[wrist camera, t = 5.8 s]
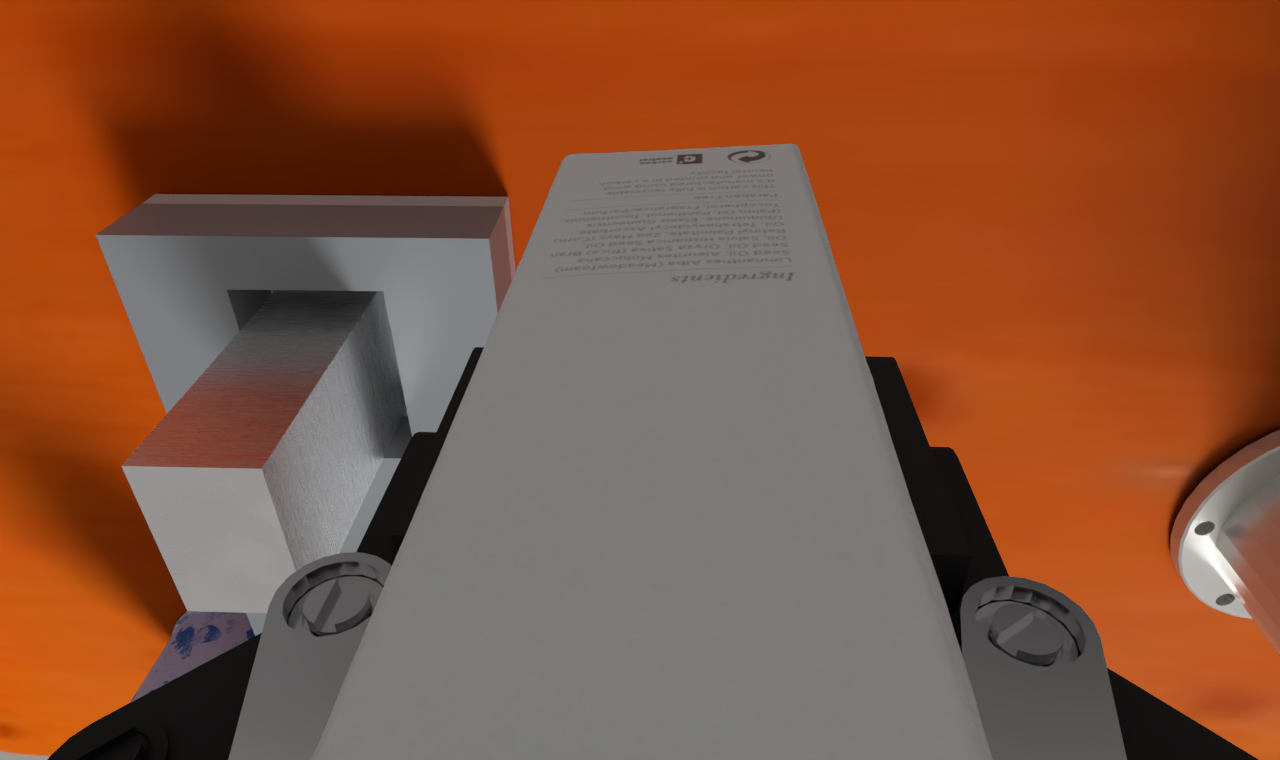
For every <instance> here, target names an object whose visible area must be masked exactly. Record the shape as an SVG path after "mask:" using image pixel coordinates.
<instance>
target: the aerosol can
mask: <svg viewBox="0 0 1280 760" xmlns="http://www.w3.org/2000/svg"><path fill="white" fill-rule="evenodd" d="M254 636H255V634H254V632H253V629H252V627H251V624H250V622H249V619H248V617H247V614H246V613H237V612H197V611H187V612H186V613H185V614H183V615H182V616H181V617H180V618H179V619H178V621H177V622H176V624H175V626H174V629H173V632H172V635H171V638H170V640H169V642H168V643H167V645H166V646H165V648H164V650H163V651H162V653H161V654H160V656H159V658H158V659H157V661H156V662H155V664H154V666H153V667H152V669H151V670H150V672H149V673H148V675H147V677H146V678H145V680H144V681H143V683H142V685H141V686H140V688H139V689H138V691H137V693H136V694H135V696H134V697H133V699H132V700H131V702H133V701H135V700H137V699H138V698H140V697H142V696H144V695H146V694H148V693H150V692H152V691H153V690H155V689H157V688H159V687H161V686H163V685H165V684H167V683H168V682H170V681H172V680H174V679H176V678H178V677H180V676H182V675H183V674H185V673H187V672H189V671H191V670H193V669H195V668H196V667H198V666H200V665H202V664H204V663H206V662H208V661H210V660H211V659H213V658H215V657H217V656H219V655H221V654H223V653H225V652H226V651H228V650H230V649H232V648H234V647H236V646H238V645H239V644H241V643H243V642H245V641H247V640H249V639H251V638H253V637H254ZM131 702H130V703H131Z"/></svg>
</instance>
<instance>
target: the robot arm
mask: <svg viewBox="0 0 1280 760" xmlns="http://www.w3.org/2000/svg"><path fill="white" fill-rule="evenodd" d="M483 349H484V347H475V348H474V349H473V351H472V353H471V355H470V358H469V360H468V362H467V364H466V367H465V369H464V371H463V373H462V376H461V378H460V380H459V382H458V385H457V387H456V389H455V391H454V394H453V396H452V398H451V400H450V403H449V405H448V407H447V409H446V412H445V414H444V416H443V419H442V421H441V423H440V425H439V428H438V430H437V432H417V433H415V434H414V435H413V437H412V438H411V440H410V441H409V443H408V445H407V447H406V450H405V452H404V454H403V456H402V458H401V460H400V462H399V464H398V466H397V468H396V470H395V472H394V475H393V477H392V479H391V481H390V483H389V485H388V487H387V489H386V491H385V493H384V495H383V497H382V499H381V502H380V504H379V506H378V508H377V510H376V512H375V514H374V516H373V518H372V520H371V522H370V524H369V526H368V529H367V531H366V533H365V535H364V537H363V539H362V541H361V543H360V545H359V547H358V549H357V551H356V552H352V553H339V554H335V555H330V556H326V557H322V558H320V559H318V560H315V561H313V562H311V563H309V564H306V565H304V566H303V567H301V568H300V569H299V570H297V571H296V572H294V573H293V574H292V575H290V576H289V577H288V578H287V579H286V580H285V581H284V582H283V583H282V584H281V586H280V587H279V588H278V589H277V590H276V592H275V594H274V596H273V598H272V600H271V602H270V604H269V607H268V611H267V615H266V619H265V622H264V626H263V630H262V633H260V634H258V635H256V636H254V637H253V638H251V639H249V640H247V641H245V642H243V643H241V644H239V645H238V646H236V647H234V648H232V649H230V650H228V651H226V652H225V653H223V654H221V655H219V656H217V657H215V658H213V659H211V660H210V661H208V662H206V663H204V664H202V665H200V666H198V667H196V668H195V669H193V670H191V671H189V672H187V673H185V674H183V675H182V676H180V677H178V678H176V679H174V680H172V681H170V682H168V683H167V684H165V685H163V686H161V687H159V688H157V689H155V690H153V691H152V692H150V693H148V694H146V695H144V696H142V697H140V698H138V699H137V700H135V701H133V702H131V703H129V704H127V705H125V706H124V707H122V708H120V709H118V710H116V711H114V712H112V713H110V714H109V715H107V716H105V717H103V718H101V719H99V720H97V721H95V722H94V723H92V724H90V725H89V726H87V727H86V728H84V729H83V730H81V731H80V732H78V733H77V734H75V735H73V736H72V737H70V738H69V739H68V740H67V741H66V742H65V743H64V744H63V745H62V746H61V747H60V748H58V749H57V750H56V751H55V752H54V753H53V754H52V755H51V756H50V757H49V759H48V760H311V758H312V756H313V754H314V752H315V750H316V747H317V745H318V743H319V741H320V739H321V737H322V734H323V732H324V730H325V727H326V724H327V722H328V719H329V717H330V714H331V712H332V709H333V707H334V704H335V701H336V699H337V696H338V694H339V691H340V689H341V686H342V684H343V682H344V679H345V677H346V675H347V672H348V670H349V668H350V665H351V663H352V661H353V658H354V656H355V654H356V651H357V649H358V647H359V644H360V642H361V640H362V637H363V635H364V633H365V630H366V628H367V626H368V623H369V621H370V619H371V616H372V614H373V611H374V609H375V606H376V604H377V602H378V599H379V597H380V594H381V592H382V589H383V587H384V584H385V582H386V580H387V577H388V575H389V572H390V570H391V567H392V565H393V562H394V560H395V558H396V555H397V553H398V551H399V548H400V546H401V544H402V542H403V539H404V537H405V535H406V532H407V530H408V528H409V525H410V523H411V521H412V518H413V516H414V514H415V511H416V509H417V506H418V504H419V501H420V499H421V496H422V494H423V491H424V489H425V487H426V485H427V482H428V480H429V478H430V475H431V473H432V471H433V468H434V466H435V464H436V461H437V459H438V457H439V454H440V452H441V449H442V447H443V444H444V442H445V440H446V437H447V435H448V432H449V430H450V427H451V425H452V422H453V420H454V418H455V415H456V413H457V410H458V408H459V406H460V403H461V401H462V399H463V396H464V394H465V392H466V389H467V387H468V385H469V382H470V380H471V378H472V375H473V373H474V370H475V368H476V365H477V363H478V360H479V358H480V356H481V353H482V351H483ZM865 359H866V361H867V364H868V367H869V369H870V372H871V374H872V377H873V380H874V384H875V388H876V391H877V394H878V397H879V401H880V404H881V407H882V410H883V413H884V416H885V419H886V423H887V426H888V429H889V432H890V436H891V439H892V442H893V445H894V448H895V451H896V455H897V458H898V461H899V464H900V467H901V470H902V473H903V476H904V479H905V483H906V486H907V489H908V492H909V495H910V499H911V502H912V505H913V508H914V510H915V513H916V516H917V519H918V522H919V525H920V528H921V531H922V534H923V537H924V539H925V542H926V545H927V548H928V551H929V554H930V557H931V560H932V563H933V566H934V569H935V572H936V575H937V577H938V580H939V583H940V586H941V589H942V592H943V595H944V598H945V601H946V604H947V608H948V611H949V614H950V618H951V621H952V624H953V628H954V631H955V634H956V637H957V640H958V644H959V647H960V650H961V653H962V656H963V659H964V662H965V665H966V669H967V672H968V676H969V679H970V682H971V686H972V689H973V693H974V696H975V699H976V703H977V706H978V710H979V714H980V717H981V721H982V725H983V728H984V732H985V736H986V739H987V742H988V745H989V748H990V751H991V754H992V758H993V760H1258V759H1256V758H1255V757H1253V756H1251V755H1250V754H1248V753H1247V752H1245V751H1243V750H1242V749H1240V748H1238V747H1237V746H1235V745H1233V744H1232V743H1230V742H1228V741H1227V740H1225V739H1223V738H1222V737H1220V736H1219V735H1217V734H1215V733H1214V732H1212V731H1210V730H1209V729H1207V728H1205V727H1204V726H1202V725H1200V724H1199V723H1197V722H1195V721H1194V720H1192V719H1191V718H1189V717H1187V716H1186V715H1184V714H1182V713H1181V712H1179V711H1177V710H1176V709H1174V708H1172V707H1171V706H1169V705H1167V704H1166V703H1164V702H1163V701H1161V700H1159V699H1158V698H1156V697H1154V696H1153V695H1151V694H1149V693H1148V692H1146V691H1144V690H1143V689H1141V688H1139V687H1138V686H1136V685H1135V684H1133V683H1131V682H1130V681H1128V680H1126V679H1125V678H1123V677H1121V676H1120V675H1118V674H1116V673H1115V672H1113V671H1111V670H1110V669H1108V668H1107V666H1106V661H1105V657H1104V652H1103V648H1102V643H1101V639H1100V636H1099V634H1098V632H1097V629H1096V627H1095V625H1094V622H1093V621H1092V620H1091V619H1090V618H1089V616H1088V615H1087V614H1086V613H1085V612H1084V610H1083V609H1082V608H1081V607H1080V606H1079V605H1077V604H1076V603H1075V602H1073V601H1072V600H1071V599H1070V598H1068V597H1067V596H1066V595H1064V594H1063V593H1061V592H1059V591H1057V590H1055V589H1053V588H1051V587H1049V586H1047V585H1045V584H1043V583H1039V582H1036V581H1032V580H1029V579H1026V578H1020V577H1009V575H1008V573H1007V570H1006V568H1005V566H1004V563H1003V561H1002V559H1001V556H1000V554H999V552H998V550H997V547H996V545H995V543H994V540H993V538H992V536H991V533H990V531H989V529H988V526H987V524H986V522H985V519H984V517H983V515H982V512H981V510H980V508H979V506H978V503H977V501H976V499H975V496H974V494H973V492H972V489H971V487H970V485H969V482H968V480H967V478H966V475H965V473H964V471H963V468H962V466H961V464H960V462H959V459H958V457H957V455H956V454H955V452H954V450H953V449H951V448H949V447H930V446H929V444H928V441H927V439H926V436H925V433H924V431H923V428H922V426H921V423H920V421H919V418H918V416H917V413H916V411H915V408H914V405H913V403H912V400H911V398H910V395H909V393H908V390H907V388H906V385H905V383H904V380H903V377H902V375H901V372H900V370H899V367H898V365H897V362H896V360H895V359H894V358H893V357H865ZM1170 555H1171V558H1172V561H1173V564H1174V567H1175V570H1176V571H1177V573H1178V574H1179V575H1180V577H1181V579H1182V580H1183V582H1184V583H1185V585H1186V586H1187V588H1188V589H1189V590H1190V591H1191V592H1192V593H1193V594H1194V595H1195V596H1196V597H1197V598H1198V599H1199V600H1200V601H1202V602H1203V603H1205V604H1206V605H1208V606H1209V607H1211V608H1213V609H1215V610H1218V611H1221V612H1224V613H1227V614H1230V615H1233V616H1238V617H1244V618H1250V619H1253V620H1254V621H1255V623H1256V624H1257V625H1258V627H1259V628H1260V630H1261V631H1262V632H1263V634H1264V635H1265V636H1266V638H1267V639H1268V640H1269V642H1270V643H1271V644H1272V646H1273V647H1274V649H1275V650H1276V651H1277V653H1278V654H1279V655H1280V430H1278V431H1275V432H1273V433H1271V434H1269V435H1267V436H1265V437H1263V438H1261V439H1259V440H1257V441H1255V442H1253V443H1251V444H1249V445H1248V446H1246V447H1244V448H1243V449H1241V450H1240V451H1238V452H1237V453H1235V454H1234V455H1232V456H1231V457H1229V458H1228V459H1227V460H1225V461H1224V462H1222V463H1221V464H1220V465H1219V466H1218V467H1216V468H1215V469H1214V470H1213V471H1212V472H1211V473H1210V474H1209V475H1208V476H1206V477H1205V478H1204V479H1203V480H1202V481H1201V482H1200V483H1199V485H1198V486H1197V487H1196V488H1195V490H1194V491H1193V492H1192V493H1191V495H1190V496H1189V497H1188V498H1187V499H1186V501H1185V503H1184V504H1183V506H1182V508H1181V510H1180V512H1179V514H1178V515H1177V517H1176V519H1175V522H1174V526H1173V530H1172V533H1171V537H1170Z"/></svg>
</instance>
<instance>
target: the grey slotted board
mask: <svg viewBox="0 0 1280 760" xmlns="http://www.w3.org/2000/svg"><path fill="white" fill-rule="evenodd" d="M96 237H97V240H98V242H99V245H100V247H101V250H102V252H103V255H104V257H105V260H106V262H107V265H108V267H109V270H110V272H111V275H112V277H113V280H114V282H115V285H116V287H117V290H118V292H119V295H120V297H121V300H122V302H123V305H124V307H125V310H126V312H127V315H128V317H129V320H130V323H131V325H132V328H133V330H134V333H135V335H136V338H137V340H138V343H139V345H140V348H141V350H142V353H143V355H144V358H145V360H146V363H147V365H148V368H149V370H150V373H151V375H152V378H153V380H154V383H155V385H156V388H157V390H158V393H159V395H160V398H161V400H162V403H163V405H164V408H165V410H166V413H168V412H169V411H170V410H171V409H172V408H173V407H174V405H175V404H176V403H177V402H178V401H179V400H180V399H181V398H182V396H183V395H184V394H185V393H186V392H187V391H188V390H189V388H190V387H191V386H192V385H193V384H194V383H195V382H196V380H197V379H198V378H199V377H200V376H201V375H202V374H203V372H204V371H205V370H206V369H207V368H208V367H209V366H210V364H211V363H212V362H213V361H214V360H215V359H216V358H217V357H218V355H219V354H220V353H221V352H222V351H223V350H224V349H225V347H226V346H227V345H228V344H229V343H230V342H231V341H232V339H233V338H234V337H235V336H236V335H237V334H238V333H239V331H240V330H241V329H242V328H243V327H244V326H245V325H246V323H247V322H248V321H249V320H250V319H251V318H252V317H253V316H254V314H255V313H256V312H257V311H258V310H259V309H260V308H261V306H262V305H263V304H264V303H265V302H266V301H267V300H268V298H269V297H270V296H271V295H272V294H273V293H274V292H275V290H315V291H383V293H384V298H385V303H386V308H387V313H388V318H389V323H390V328H391V333H392V338H393V343H394V348H395V353H396V358H397V363H398V368H399V373H400V378H401V383H402V388H403V393H404V398H405V403H406V408H407V409H406V411H405V413H404V415H403V418H402V420H401V422H400V424H399V426H398V428H397V430H396V433H395V435H394V437H393V439H392V441H391V443H390V445H389V447H388V450H387V452H386V454H385V456H384V458H383V460H382V462H381V465H380V467H379V469H378V471H377V473H376V475H375V477H374V479H373V482H372V484H371V486H370V488H369V490H368V492H367V494H366V497H365V499H364V501H363V503H362V505H361V507H360V509H359V512H358V514H357V516H356V518H355V520H354V522H353V524H352V526H351V529H350V531H349V533H348V535H347V537H346V539H345V541H344V544H343V546H342V548H341V550H340V552H339V553H352V552H356V551H357V549H358V547H359V545H360V543H361V541H362V539H363V537H364V535H365V533H366V531H367V529H368V526H369V524H370V522H371V520H372V518H373V516H374V514H375V512H376V510H377V508H378V506H379V504H380V502H381V499H382V497H383V495H384V493H385V491H386V489H387V487H388V485H389V483H390V481H391V479H392V477H393V475H394V472H395V470H396V468H397V466H398V464H399V462H400V460H401V458H402V456H403V454H404V452H405V450H406V447H407V445H408V443H409V441H410V440H411V438H412V437H413V435H414V434H415V433H417V432H437V430H438V428H439V425H440V423H441V421H442V419H443V416H444V414H445V412H446V409H447V407H448V405H449V403H450V400H451V398H452V396H453V394H454V391H455V389H456V387H457V385H458V382H459V380H460V378H461V376H462V373H463V371H464V369H465V367H466V364H467V362H468V360H469V358H470V355H471V353H472V351H473V349H474V348H475V347H485V344H486V342H487V339H488V336H489V334H490V331H491V328H492V326H493V324H494V321H495V319H496V317H497V315H498V312H499V310H500V307H501V305H502V303H503V300H504V298H505V295H506V293H507V291H508V289H509V286H510V284H511V282H512V280H513V277H514V275H515V272H516V269H515V259H514V249H513V238H512V228H511V218H510V208H509V198H508V197H486V196H358V195H228V194H154V195H153V196H152V197H150V198H149V199H147V200H146V201H144V202H143V203H141V204H140V205H138V206H137V207H136V208H134V209H133V210H131V211H130V212H128V213H127V214H125V215H124V216H123V217H121V218H120V219H118V220H117V221H115V222H114V223H112V224H111V225H109V226H108V227H107V228H105V229H104V230H102V231H101V232H99V233H98V234H96ZM246 614H247V617H248V619H249V622H250V624H251V627H252V629H253V632H254V634H255V636H256V635H258V634H260V633H262V630H263V626H264V622H265V619H266V615H267V613H246Z"/></svg>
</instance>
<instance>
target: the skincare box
mask: <svg viewBox="0 0 1280 760" xmlns="http://www.w3.org/2000/svg"><path fill="white" fill-rule="evenodd" d="M311 760H993V758H992V754H991V751H990V748H989V745H988V742H987V739H986V736H985V732H984V728H983V725H982V721H981V717H980V714H979V710H978V706H977V703H976V699H975V696H974V693H973V689H972V686H971V682H970V679H969V676H968V672H967V669H966V665H965V662H964V659H963V656H962V653H961V650H960V647H959V644H958V640H957V637H956V634H955V631H954V628H953V624H952V621H951V618H950V614H949V611H948V608H947V604H946V601H945V598H944V595H943V592H942V589H941V586H940V583H939V580H938V577H937V575H936V572H935V569H934V566H933V563H932V560H931V557H930V554H929V551H928V548H927V545H926V542H925V539H924V537H923V534H922V531H921V528H920V525H919V522H918V519H917V516H916V513H915V510H914V508H913V505H912V502H911V499H910V495H909V492H908V489H907V486H906V483H905V479H904V476H903V473H902V470H901V467H900V464H899V461H898V458H897V455H896V451H895V448H894V445H893V442H892V439H891V436H890V432H889V429H888V426H887V423H886V419H885V416H884V413H883V410H882V407H881V404H880V401H879V397H878V394H877V391H876V388H875V384H874V380H873V377H872V374H871V372H870V369H869V367H868V364H867V361H866V359H865V356H864V352H863V349H862V346H861V343H860V340H859V337H858V333H857V330H856V327H855V324H854V321H853V317H852V314H851V311H850V308H849V305H848V302H847V299H846V296H845V293H844V290H843V287H842V283H841V279H840V276H839V273H838V270H837V267H836V264H835V261H834V258H833V255H832V251H831V247H830V244H829V240H828V237H827V234H826V231H825V228H824V225H823V222H822V219H821V216H820V213H819V209H818V206H817V202H816V199H815V196H814V194H813V191H812V188H811V185H810V181H809V178H808V175H807V173H806V169H805V166H804V163H803V160H802V156H801V153H800V150H799V148H798V146H797V145H795V144H779V145H760V146H740V147H719V148H699V149H679V150H661V151H636V152H618V153H588V154H572V155H568V156H566V157H565V158H564V159H563V160H562V163H561V166H560V168H559V170H558V173H557V175H556V177H555V180H554V182H553V184H552V186H551V188H550V191H549V194H548V197H547V199H546V201H545V203H544V206H543V208H542V211H541V213H540V215H539V218H538V221H537V223H536V225H535V227H534V230H533V232H532V235H531V237H530V240H529V242H528V245H527V247H526V249H525V252H524V254H523V257H522V259H521V261H520V263H519V265H518V268H517V270H516V272H515V275H514V277H513V280H512V282H511V284H510V286H509V289H508V291H507V293H506V295H505V298H504V300H503V303H502V305H501V307H500V310H499V312H498V315H497V317H496V319H495V321H494V324H493V326H492V328H491V331H490V334H489V336H488V339H487V342H486V344H485V347H484V349H483V351H482V353H481V356H480V358H479V360H478V363H477V365H476V368H475V370H474V373H473V375H472V378H471V380H470V382H469V385H468V387H467V389H466V392H465V394H464V396H463V399H462V401H461V403H460V406H459V408H458V410H457V413H456V415H455V418H454V420H453V422H452V425H451V427H450V430H449V432H448V435H447V437H446V440H445V442H444V444H443V447H442V449H441V452H440V454H439V457H438V459H437V461H436V464H435V466H434V468H433V471H432V473H431V475H430V478H429V480H428V482H427V485H426V487H425V489H424V491H423V494H422V496H421V499H420V501H419V504H418V506H417V509H416V511H415V514H414V516H413V518H412V521H411V523H410V525H409V528H408V530H407V532H406V535H405V537H404V539H403V542H402V544H401V546H400V548H399V551H398V553H397V555H396V558H395V560H394V562H393V565H392V567H391V570H390V572H389V575H388V577H387V580H386V582H385V584H384V587H383V589H382V592H381V594H380V597H379V599H378V602H377V604H376V606H375V609H374V611H373V614H372V616H371V619H370V621H369V623H368V626H367V628H366V630H365V633H364V635H363V637H362V640H361V642H360V644H359V647H358V649H357V651H356V654H355V656H354V658H353V661H352V663H351V665H350V668H349V670H348V672H347V675H346V677H345V679H344V682H343V684H342V686H341V689H340V691H339V694H338V696H337V699H336V701H335V704H334V707H333V709H332V712H331V714H330V717H329V719H328V722H327V724H326V727H325V730H324V732H323V734H322V737H321V739H320V741H319V743H318V745H317V747H316V750H315V752H314V754H313V756H312V758H311Z"/></svg>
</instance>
